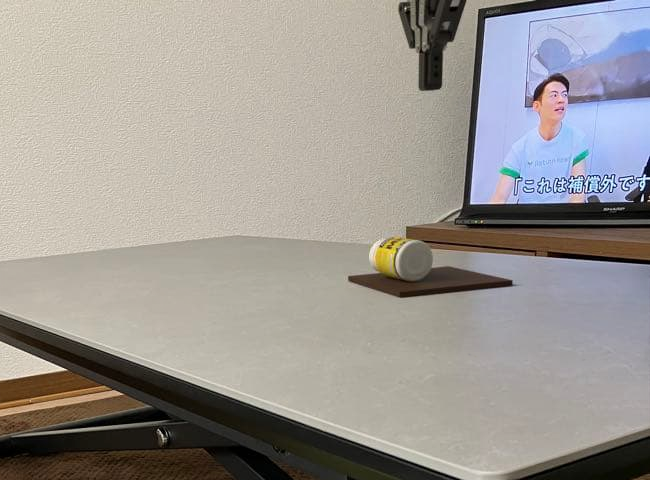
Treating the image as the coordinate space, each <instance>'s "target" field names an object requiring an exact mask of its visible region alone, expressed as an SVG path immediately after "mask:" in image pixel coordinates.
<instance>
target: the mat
mask: <svg viewBox="0 0 650 480" xmlns="http://www.w3.org/2000/svg"><path fill="white" fill-rule="evenodd" d="M347 281H348V282H351V283H354V284H357V285H360V286H363V287H366V288H369V289H372V290H376V291H379V292H382V293H386V294H388V295H391V296H394V297H397V298H406V297H407V298H408V297H416V296H425V295H427V296H428V295H435V294H444V293H445V294H446V293H454V292H464V291H472V290H484V289H493V288H503V287H510V286H511V287H512V286H513V279H509V278H504V277H500V276H495V275H490V274H486V273H482V272H477V271H473V270H467V269H465V268H464V269H462V268H458V267H454V266H449V265H447V266H437V267H436V266H435V267H431V270H430V272H429V273H428V274H427V276H426V277H424V278H423V279H422V280H420V281H416V282H409V281H404V280H400V279H396V278H391V277H386V276H384V275H382V274H381V273H380V272H376V273H375V272H374V273H365V274H355V275H348V276H347Z"/></svg>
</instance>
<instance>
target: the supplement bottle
mask: <svg viewBox="0 0 650 480" xmlns="http://www.w3.org/2000/svg"><path fill="white" fill-rule="evenodd" d="M368 255H369V256H368V257H369V258H368V259H369V264H370V266H371V267H372V269H373V270H375V271H376V272H377V273H381V274H382V275H384V276H386V277H391V278H396V279H400V280H404V281H409V282H416V281H420V280H422V279H423V278H424V277H426V276H427V274H428V273H429V272H430V270H431V268H433V262H434V255H433V252H432V249H431V247H430V246H429V244H427V243H426V242H424V241H422V240H419V239H411V238H405V237H395V236H394V237H393V236H392V237H387V238H382V239H379V240H377V241H376V242H375V243H374V244H373V245H372V246H371V247H370V250H369V254H368Z"/></svg>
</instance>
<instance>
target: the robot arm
mask: <svg viewBox="0 0 650 480" xmlns="http://www.w3.org/2000/svg"><path fill="white" fill-rule="evenodd" d="M467 1H468V0H406V1H400V2H399V3H398V6H397V7H398V8H397V10H398V14H399V18H400V22H401V26H402V29H403V31H404V35H405V38H406V41H407V45H408V48H409V49H410V50H412V49H415V53H416V54H418V81H417V82H418V84H417V87H418V90H419V91H421V92H429V91H430V92H433V91H439V90H440V89H441V88H443V73H444V72H443V70H444V69H443V67H444V66H443V65H444V51H446V50H447V46H448V43H453V42H454V40H455V39H456V34H457V31H458V29H459V25H460V22H461V19H462V16H463V13H464V10H465V7H466V5H467Z"/></svg>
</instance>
